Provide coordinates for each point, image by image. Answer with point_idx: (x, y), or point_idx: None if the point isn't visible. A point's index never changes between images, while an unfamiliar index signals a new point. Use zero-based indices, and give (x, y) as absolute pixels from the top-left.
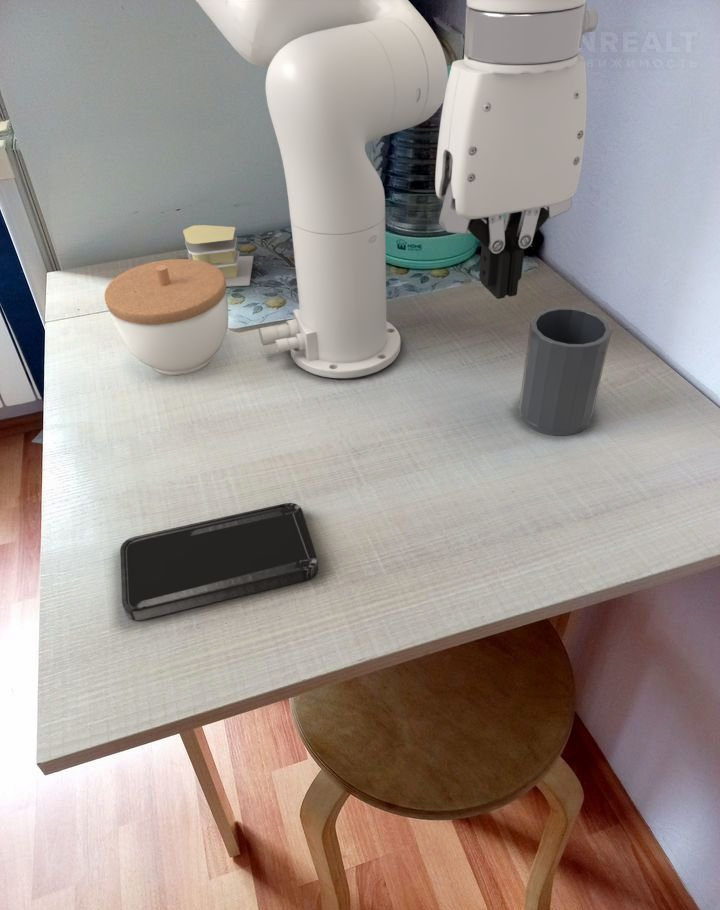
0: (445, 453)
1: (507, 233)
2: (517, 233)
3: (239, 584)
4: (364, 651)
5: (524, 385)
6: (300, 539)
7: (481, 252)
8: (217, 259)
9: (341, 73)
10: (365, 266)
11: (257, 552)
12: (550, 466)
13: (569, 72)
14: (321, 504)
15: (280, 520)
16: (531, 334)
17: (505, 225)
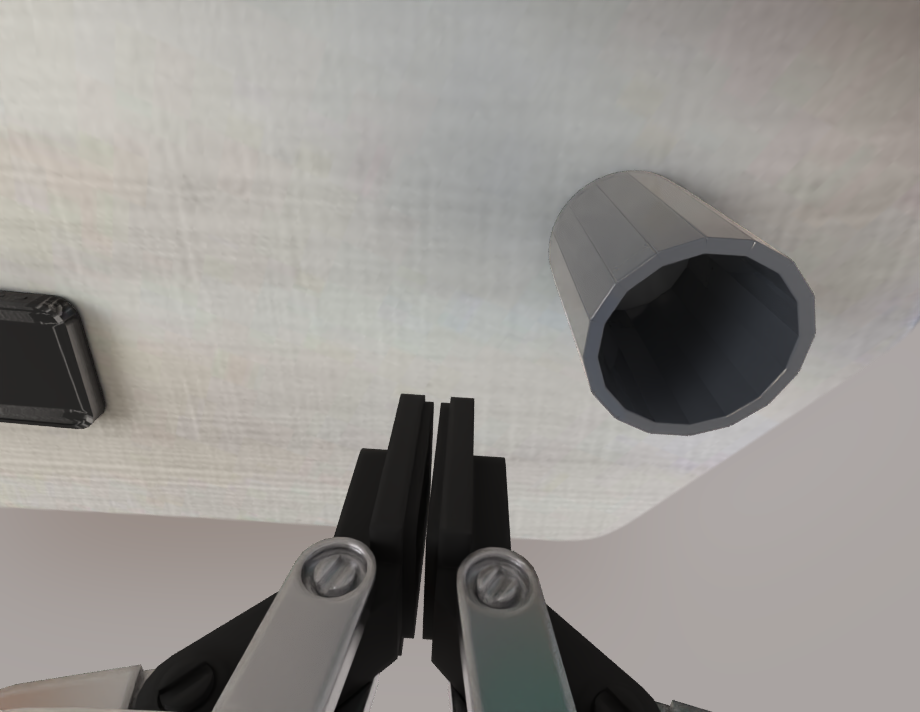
0: (361, 265)
1: (444, 628)
2: (452, 702)
3: None
4: (158, 510)
5: (563, 253)
6: (68, 377)
7: (336, 530)
8: None
9: None
10: None
11: (3, 376)
12: (517, 362)
13: None
14: (114, 295)
15: (32, 332)
16: (587, 312)
17: (458, 616)
